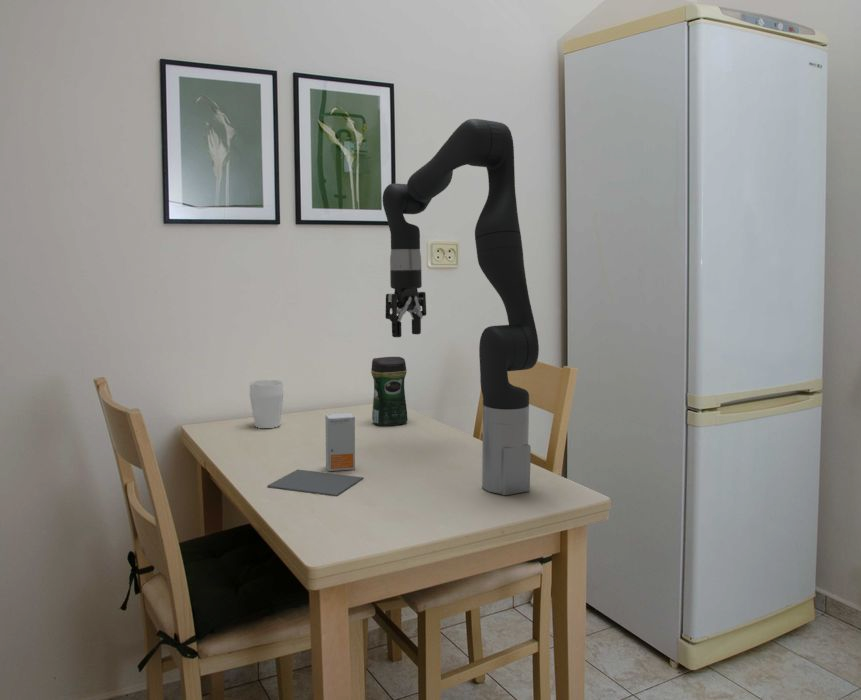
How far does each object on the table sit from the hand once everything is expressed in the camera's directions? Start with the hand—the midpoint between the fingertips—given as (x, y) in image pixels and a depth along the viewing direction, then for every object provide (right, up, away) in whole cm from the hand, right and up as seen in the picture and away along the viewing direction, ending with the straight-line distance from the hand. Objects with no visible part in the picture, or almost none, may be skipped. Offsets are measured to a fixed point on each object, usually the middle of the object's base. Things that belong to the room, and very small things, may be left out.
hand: (406, 335), depth 183 cm
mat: (-18, -31, -26) cm, 45 cm away
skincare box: (-14, -30, -16) cm, 37 cm away
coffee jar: (-6, -24, +26) cm, 36 cm away
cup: (-39, -25, +23) cm, 51 cm away
